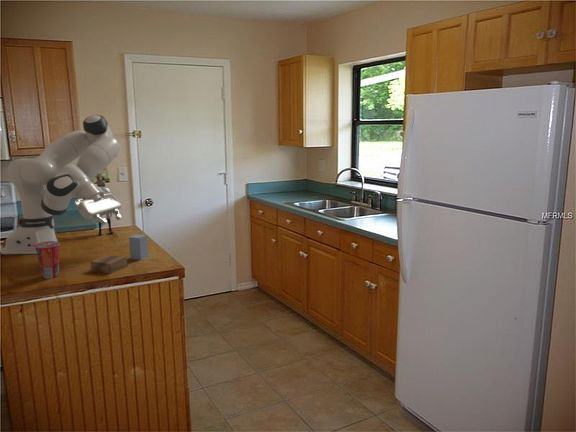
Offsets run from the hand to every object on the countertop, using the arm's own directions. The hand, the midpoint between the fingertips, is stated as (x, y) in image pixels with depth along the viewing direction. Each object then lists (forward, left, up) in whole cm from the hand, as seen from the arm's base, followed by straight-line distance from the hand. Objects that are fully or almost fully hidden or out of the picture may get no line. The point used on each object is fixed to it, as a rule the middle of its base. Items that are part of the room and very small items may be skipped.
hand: (112, 221), depth 194 cm
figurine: (-9, +40, -15) cm, 43 cm away
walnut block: (0, -18, -15) cm, 23 cm away
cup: (-20, -22, -15) cm, 33 cm away
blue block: (+10, -6, -14) cm, 19 cm away
